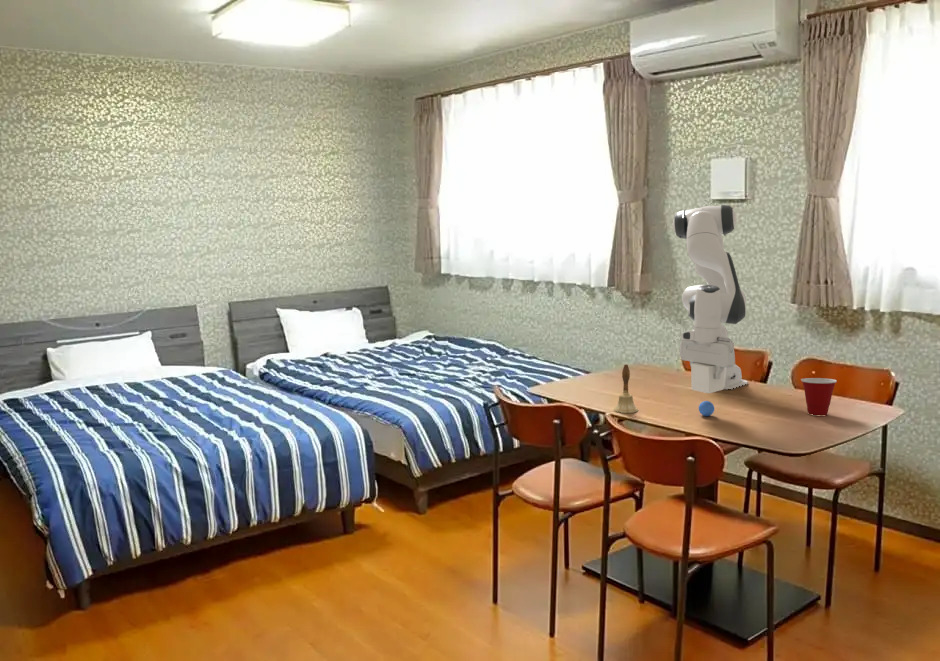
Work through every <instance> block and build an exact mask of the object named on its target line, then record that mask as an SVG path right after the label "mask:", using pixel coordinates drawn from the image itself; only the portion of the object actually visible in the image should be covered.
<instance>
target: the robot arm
mask: <svg viewBox="0 0 940 661" xmlns="http://www.w3.org/2000/svg"><path fill="white" fill-rule="evenodd" d="M736 224H737V215H736V212H735V210H734V208H733V206H731V205H729V204H728V205H727V204H721V205H707V206H702V207H696V208H689V209H683V210H680V211H678V212H676V213H675V215H674V217H673V221H672V227H673V231H674V234H675V236H676V237H678V238H679V239H685V240H686V250H687V255H688V257H689V259H690V260H691V261H692V262H694V270H695V272H696V274H697V275H698V276H699V277H700V278H702V279H703V280H704V281H705V283H706V284H695V285H691V286H688V287H686V288H685V289H684V291H683V293H682V296H681V301H682V305H683V308H685V309H686V310H687V311H688V314H687V316H688V317H689V319H691V320H692V321H693V322H694V323H693V329H690V330H687V331H684V332H683V331H682V332H681V334H680V339H682V340H681V341H680V345H679V358H680V360H682V361H686V362H687V361H688V362H689V365H690V367H691V364H693V363H703V364H709V365H715V366H716V369H718V370H717V372H716V374H713V376H714V377H713V378H714V379H717V380H718V379H720V377H721V373H722V371H723V385H724V389H723V390H728V389H731V390H734V389H737V388H739V386H740V387H743V386H746V385H748V384H749V382H748V380H746V379H742V378H743V377H742V369H741V367H739V366H738V365H737V364H736V355H735V354H736V353H735V343H734V342H733V341H732V340H731V339H730V338H728V330H727V328H726V327H725V326H724V325H723V324H729V325H730V324H732V325H736V324H738V323H740V322H741V321H742V320H743V319H744V318H745V317H746V314H747V307H746V306H747V304H746V303H747V299H746V298H747V297H746V295H745V293H744V291H743V290H742V289H741V287H740V283H739V279H738V275H737V272H736V268H735V264H734V261H733V259H732V256H731V254H730V253H729V252H727V251H726V250H725V247H724V241H723V240H724V239H723V236H725V237H726V236H727V235H729V234H730V233H732V232H733V231H734V230H735V226H736ZM722 323H723V324H722ZM745 384H746V385H745ZM742 385H743V386H742ZM736 387H737V388H736ZM733 388H734V389H733Z"/></svg>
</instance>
